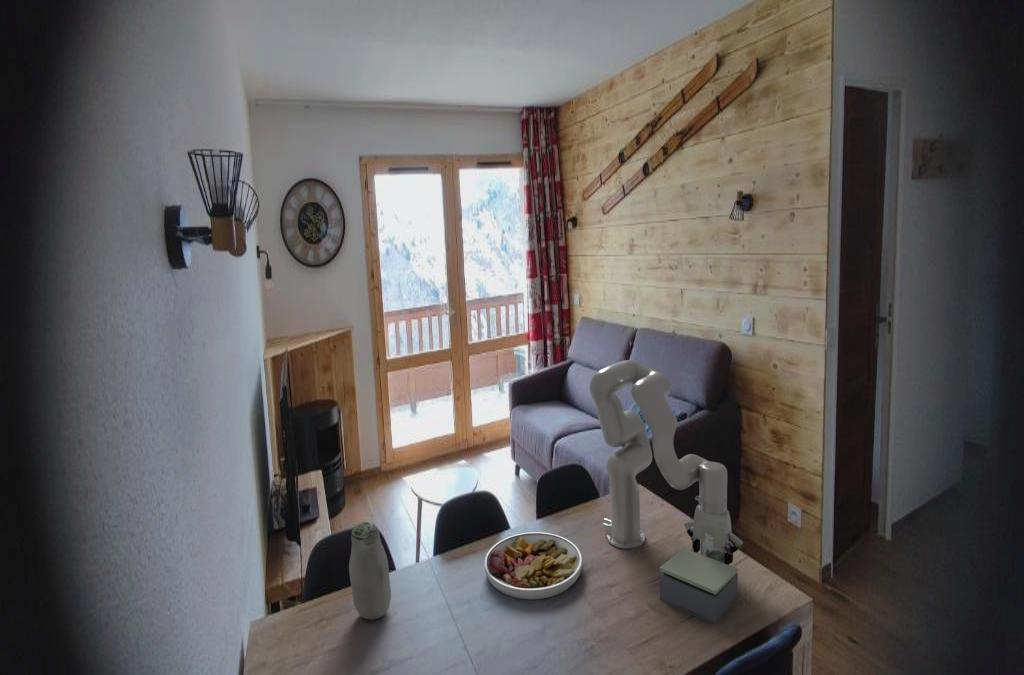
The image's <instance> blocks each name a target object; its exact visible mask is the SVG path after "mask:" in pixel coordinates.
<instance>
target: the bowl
mask: <svg viewBox="0 0 1024 675" xmlns="http://www.w3.org/2000/svg"><path fill="white" fill-rule="evenodd" d="M582 556H583V555H582V553H581V551H580V549H579V548H578V547H577V545H576V544H575V543H573V542H572V541H571V540H569V539H567V538H565V537H563V536H561V535H557V534H555V533H554V534H553V533H550V532H542V531H541V532H537V531H533V532H532V531H531V532H523V533H518V534H514V535H510V536H508V537H505V538H502V539H501V540H500V541H498V542H497V543H495V544H494V545H493V546H492V547H490V549H489V550H488V551H487V553H486V555H485V558H484V571H485V574H486V577H487V579H488V581H489V582H490V584H492V586H493V587H494V588H496V589H497V591H500V592H501V593H503V594H504V595H507V596H509V597H512V598H516V599H519V600H520V599H521V600H543V599H548V598H551V597H555V596H557V595H560V594H562V593H563V592H565V591H567V590H568V589H569V588H570V587H572V586H573V585H574V584H575V582H576V581H577V580H578V578H579V577H580V574H581V572H582V568H583V557H582Z"/></svg>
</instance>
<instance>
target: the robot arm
mask: <svg viewBox="0 0 1024 675" xmlns="http://www.w3.org/2000/svg"><path fill="white" fill-rule="evenodd" d="M631 386H632V387H631ZM629 387H631V389H630V390H631V391H630V392H631V396H632V399H633V401H634V402H635V404H636V406H637V408H638V410H639V412H640V413H641V415H642V417H643V419H644V420H645V422H646V424H647V426H648V428H649V429H650V432H651V437H652V438H651V442H652V443H651V444H652V448H651V444H650V439H649V436H648V432H647V429H646V426H645V422H644V421H643V419H642V418H641V416H640V415H639V414H638V413H637V412H635V411H633V410H624V408H623V403H622V401H621V399H620V398H619V397H618V395H617V394H616V393H617V392H619V391H622V390H624V389H627V388H629ZM671 391H672V384H671V381H670V380H669V378H668V377H667V376H666V375H665V374H663V373H662V372H660V371H658V370H657V369H654V368H651V367H649V366H646V365H645V364H642V363H640V362H638V361H636V360H631V359H625V360H621V361H619V362H616V363H614V364H610V365H607V366H606V367H603V368H602V369H600V370H599V371H596V372H595V374H593V376H592V377H591V379H590V383H589V393H590V396H591V399H592V401H593V404H594V406H595V410H596V414H597V418H598V422H599V426H600V430H601V433H602V437H603V439H604V442H605V443H606V445H607V446H609V447H611V448H619V447H621V446H623V447H621V448H619V449H618V450H616V451H615V452H613V453H612V454H611V455H610V456H609V457H608V459H607V462H606V472H607V475H608V481H609V495H610V496H609V497H610V500H609V501H610V519H609V518H607V517H604V518H603V523H602V527H603V528H606V529H607V530H608V531H607V532H606V540H607V542H608V543H609V544H610V545H611V546H613V547H616V548H619V549H624V550H631V549H637V548H639V547H642V546H643V545H644V543H645V542H646V535H645V534H644V532H643V531H642V530H641V513H640V512H641V511H640V510H641V509H640V508H641V506H640V499H641V498H640V488H639V485H638V482H637V479H636V476H637V475H638V474H640V473H641V472H643V471H644V470H646V469H647V468H649V466H650V465H651V463H652V461H653V457H654V460H655V463H656V466H657V467H658V469H659V471H660V473H661V475H662V477H663V478H664V480H665V481H666V482H667V484H669V486H670V487H671V488H673V489H674V490H677V491H678V490H679V491H683V490H686V489H688V488H689V487H690V486H692V485H693V484H694V483H696V482H698V485H699V486H698V488H699V489H698V492H699V494H698V495H696V496H695V498H694V500H695V501H697V502H698V504H697V505H696V507H695V511H694V517H693V520H689V521H686V522H685V523H684V524H683V525H684V527H685V530H686V532H687V535H688V536H689V537H690V541H692V544H691V545H692V546H691V547H692V551H693V552H696V553H699V552H700V551H701V541H704V542H705V533H707V534H709V535H711V536H713V545H715V546H717V547H721V548H724V549H725V550H726V553H725V564H727V565H729V566H730V564H732V563H733V561H734V553H736V552H737V551H738V550H739V549H740V548H741V546H742V545H743V544H744V541H743V540H742V539H740V538H739V537H738V536H736V535H735V534H734V533H733V531H732V520H731V516H730V510H728V508H727V507H728V505H727V504H728V469H727V468H726V466H725V465H724V464H722V463H720V462H716V461H710V460H707V459H705V457H701V456H700V455H697V454H692V453H689V454H686V455H684V456H683V457H681V458H680V459H679V458H678V456H677V453H676V451H675V447H674V438H675V434H676V430H677V426H678V419H677V417H676V415H675V413H674V412H673V409H672V408H671V406H670V404H669V403H668V401H667V399H666V398H667V397H668V396H669V395H670V393H671ZM652 452H653V453H652ZM732 542H733V543H735V544H733V543H732Z"/></svg>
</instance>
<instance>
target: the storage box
mask: <svg viewBox="0 0 1024 675" xmlns="http://www.w3.org/2000/svg"><path fill="white" fill-rule="evenodd" d="M738 573H739V572H737V573H736V574H735V575H734V577H733V578H732V579H731V580H730V581H729V582H728V583H727V584H726V585H725V586H724V587H723V588H722V589H721V590H720V591H719V592H718V593H717V594H716V595H715V594H713V593H710V592H708V591H706V590H703V589H701V588H699V587H696V586H694V585H692V584H689V583H687V582H685V581H682V580H680V579H678V578H675V577H673V576H671V575H668V574H666V573H664V572H661V571H660V573H659V600H660V601H662V602H664V603H666V604H668V605H671V606H672V607H675V608H677V609H679V610H680V611H681V610H682V611H683V612H685V613H687V614H690V615H692V616H694V617H696V618H698V619H701V620H703V621H705V622H707V623H708V624H711V625H713V626H717V624H718V623H719V622H720V620H721V619H722V618H723V617H724V615H725V614H726V613H727V611H728V610H729V609H730V608H731V607H732V606H733V604H734V603H735V602H736V601H737V599H738V580H739V578H738V577H739V574H738Z"/></svg>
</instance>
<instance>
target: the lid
mask: <svg viewBox="0 0 1024 675" xmlns="http://www.w3.org/2000/svg"><path fill="white" fill-rule="evenodd" d="M659 571H660V573H661V572H664V573H666V574H668V575H671V576H673V577H675V578H678V579H680V580H682V581H685V582H687V583H689V584H692V585H694V586H696V587H699V588H701V589H703V590H706V591H708V592H710V593H713V594H715V595H716V594H717V593H718V592H719V591H720V590H721V589H722V588H723V587H724V586H725V585H726V584H727V583H728V582H729V581H730V580H731V579H732V578H733V577H734V575H735V574H736V573H737V572H738V571H739V569H738V568H737V567H735V566H732V565H730V564H729V565H727V564H724V563H722V562H719V561H716V560H714V559H711V558H709V557H706V556H703V555H701V553H699V552H697V553H696V552H693V550H690V549H688V548H685V547H683V548H682V549H680V551H678V552H677V553H675V554H674V555H673V556H672V557H671V558H670V559H668V560H667V561H666V562H665V563H663V564H662V565H661V566H660V567H659ZM738 573H739V572H738Z"/></svg>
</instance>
